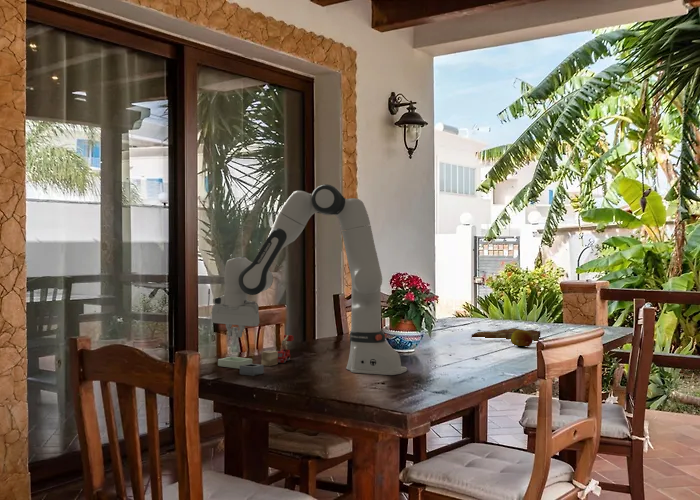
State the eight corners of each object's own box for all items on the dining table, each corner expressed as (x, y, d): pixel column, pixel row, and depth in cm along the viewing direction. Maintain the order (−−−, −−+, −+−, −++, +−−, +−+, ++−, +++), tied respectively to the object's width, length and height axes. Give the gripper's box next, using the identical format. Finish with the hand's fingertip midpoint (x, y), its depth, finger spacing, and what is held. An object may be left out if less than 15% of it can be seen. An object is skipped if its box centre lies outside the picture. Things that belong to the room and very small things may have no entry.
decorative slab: (541, 339, 356) (542, 329, 356) (537, 344, 336) (537, 334, 336) (478, 335, 368) (478, 325, 368) (469, 340, 348) (470, 330, 348)
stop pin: (239, 351, 265) (239, 327, 265) (235, 352, 263) (235, 328, 263) (234, 350, 266) (234, 327, 266) (230, 351, 264) (230, 327, 264)
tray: (252, 365, 266) (252, 358, 266) (239, 368, 258) (239, 361, 258) (231, 363, 270) (231, 356, 270) (217, 366, 263) (217, 359, 263)
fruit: (534, 347, 323) (535, 330, 323) (528, 349, 316) (528, 331, 316) (514, 345, 329) (514, 328, 329) (508, 347, 321) (508, 330, 321)
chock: (277, 364, 270) (277, 351, 270) (269, 366, 265) (270, 352, 265) (269, 363, 272) (269, 350, 271) (261, 365, 267) (261, 352, 267)
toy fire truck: (275, 363, 271) (275, 338, 271) (285, 357, 285) (285, 334, 285) (283, 363, 271) (283, 338, 271) (293, 358, 284) (293, 334, 284)
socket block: (263, 373, 250) (263, 364, 250) (253, 375, 244) (253, 367, 244) (249, 371, 253) (249, 363, 253) (239, 374, 247) (239, 365, 247)
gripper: (263, 301, 262) (262, 338, 262) (219, 298, 272) (219, 333, 272) (253, 302, 256) (252, 339, 257) (209, 299, 266) (208, 335, 266)
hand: (235, 336), depth 264 cm, fingers closed on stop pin, 2 cm apart
